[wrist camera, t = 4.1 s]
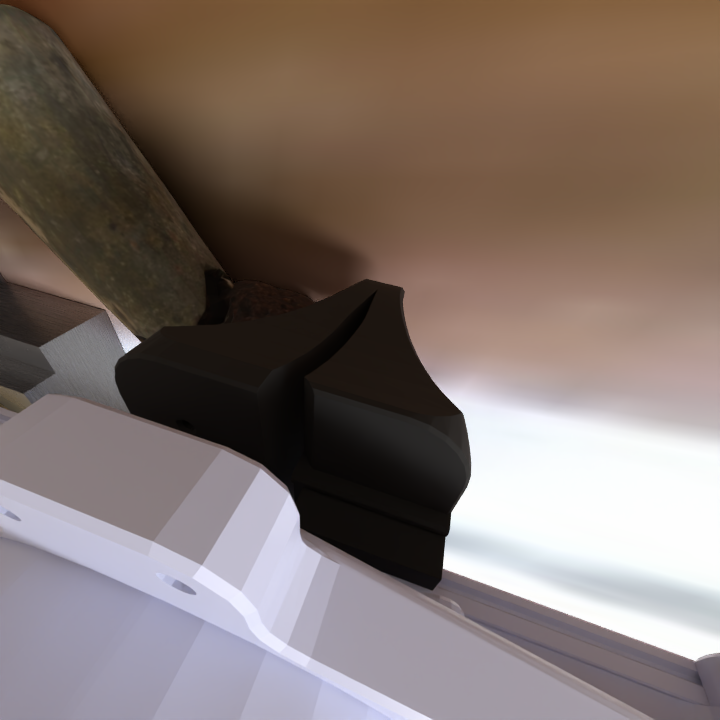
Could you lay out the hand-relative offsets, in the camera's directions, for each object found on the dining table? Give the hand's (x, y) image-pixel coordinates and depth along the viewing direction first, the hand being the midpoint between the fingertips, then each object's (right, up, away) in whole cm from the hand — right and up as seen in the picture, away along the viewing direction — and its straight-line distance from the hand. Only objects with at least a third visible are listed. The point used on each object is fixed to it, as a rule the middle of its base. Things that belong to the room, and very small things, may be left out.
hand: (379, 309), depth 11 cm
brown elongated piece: (-6, +2, +3) cm, 7 cm away
